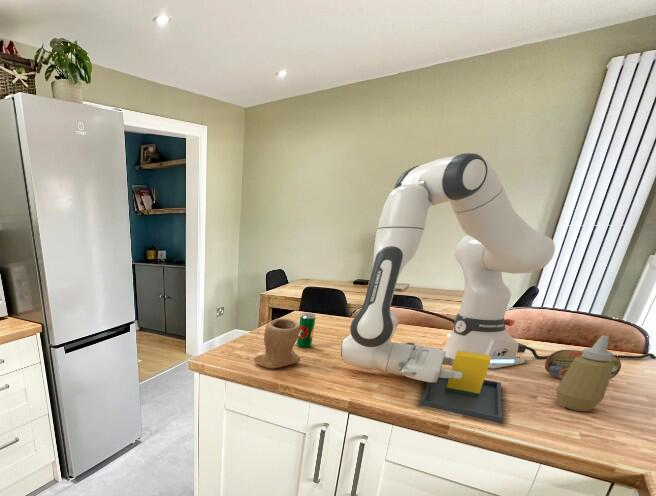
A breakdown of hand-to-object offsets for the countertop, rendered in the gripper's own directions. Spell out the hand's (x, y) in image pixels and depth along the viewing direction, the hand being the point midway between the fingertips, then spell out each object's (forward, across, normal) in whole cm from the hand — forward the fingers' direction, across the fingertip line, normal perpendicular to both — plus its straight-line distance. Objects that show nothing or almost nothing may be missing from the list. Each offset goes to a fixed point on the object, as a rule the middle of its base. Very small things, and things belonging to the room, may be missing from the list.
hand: (463, 369), depth 105 cm
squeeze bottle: (+23, +5, +6) cm, 25 cm away
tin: (+26, +29, +7) cm, 40 cm away
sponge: (+1, 0, +6) cm, 6 cm away
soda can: (-46, +17, +6) cm, 50 cm away
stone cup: (-46, -8, +6) cm, 47 cm away
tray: (+1, -4, +6) cm, 7 cm away
